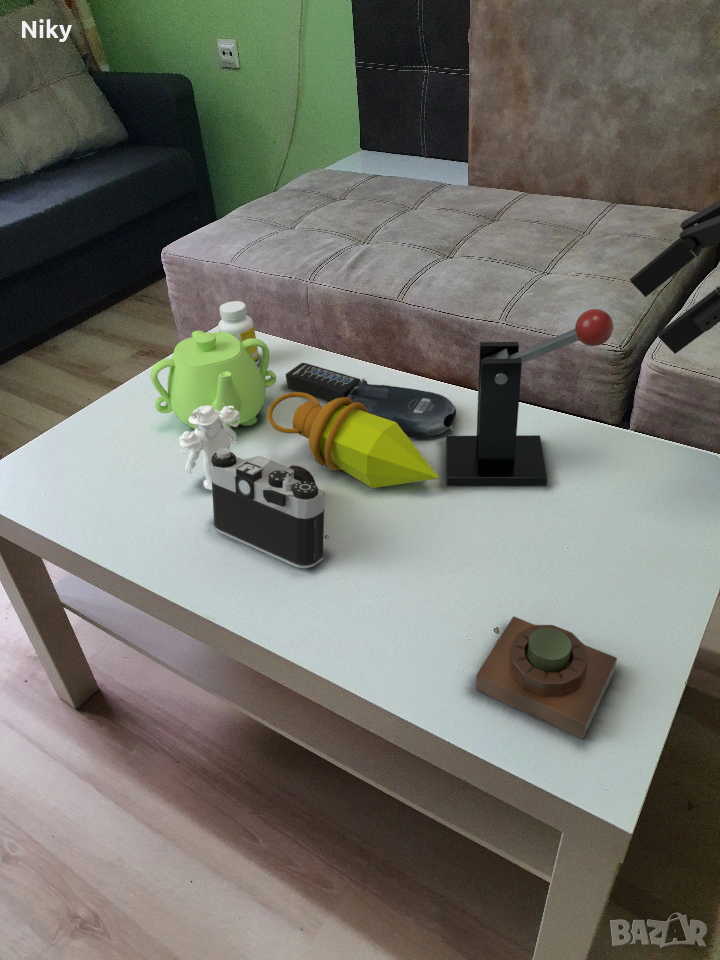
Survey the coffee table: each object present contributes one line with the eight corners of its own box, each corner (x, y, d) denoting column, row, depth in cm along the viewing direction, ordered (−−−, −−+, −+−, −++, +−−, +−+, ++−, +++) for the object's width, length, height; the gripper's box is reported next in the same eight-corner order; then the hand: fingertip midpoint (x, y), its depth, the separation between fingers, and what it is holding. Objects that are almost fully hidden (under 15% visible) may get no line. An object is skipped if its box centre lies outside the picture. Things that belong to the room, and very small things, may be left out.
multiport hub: (345, 406, 108) (344, 392, 107) (286, 387, 113) (284, 374, 112) (362, 392, 111) (361, 378, 109) (304, 374, 116) (302, 361, 115)
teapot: (300, 404, 109) (289, 324, 102) (242, 456, 100) (226, 373, 92) (211, 382, 116) (195, 306, 108) (150, 429, 106) (128, 349, 99)
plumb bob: (458, 474, 95) (297, 404, 104) (459, 426, 87) (287, 356, 97) (421, 527, 90) (258, 449, 100) (419, 481, 83) (243, 402, 93)
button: (575, 650, 67) (577, 637, 66) (560, 679, 64) (562, 665, 63) (537, 634, 68) (538, 621, 67) (520, 662, 66) (522, 649, 65)
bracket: (539, 443, 98) (550, 332, 88) (546, 486, 91) (559, 371, 81) (446, 443, 99) (446, 334, 90) (446, 485, 92) (447, 372, 83)
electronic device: (341, 437, 104) (444, 443, 98) (335, 400, 102) (440, 403, 96) (367, 411, 112) (465, 414, 105) (362, 375, 109) (462, 377, 103)
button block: (613, 673, 69) (620, 644, 66) (582, 739, 64) (588, 711, 61) (511, 631, 74) (514, 602, 71) (475, 690, 68) (476, 661, 66)
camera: (358, 533, 88) (361, 456, 83) (301, 576, 80) (301, 494, 75) (262, 494, 95) (260, 421, 90) (201, 530, 87) (195, 453, 82)
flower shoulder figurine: (204, 504, 92) (184, 422, 85) (183, 493, 94) (161, 412, 87) (255, 467, 98) (240, 387, 90) (234, 458, 100) (218, 378, 92)
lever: (614, 327, 84) (603, 297, 82) (621, 343, 81) (609, 313, 79) (493, 375, 90) (480, 348, 88) (495, 393, 86) (482, 365, 84)
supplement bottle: (259, 353, 123) (250, 297, 117) (260, 369, 118) (250, 311, 112) (226, 357, 122) (215, 301, 116) (225, 373, 118) (214, 316, 112)
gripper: (933, 236, 62) (703, 396, 72) (813, 154, 81) (646, 289, 92) (887, 171, 59) (655, 347, 70) (775, 102, 79) (608, 248, 89)
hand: (650, 314), depth 81 cm, fingers open, 13 cm apart
